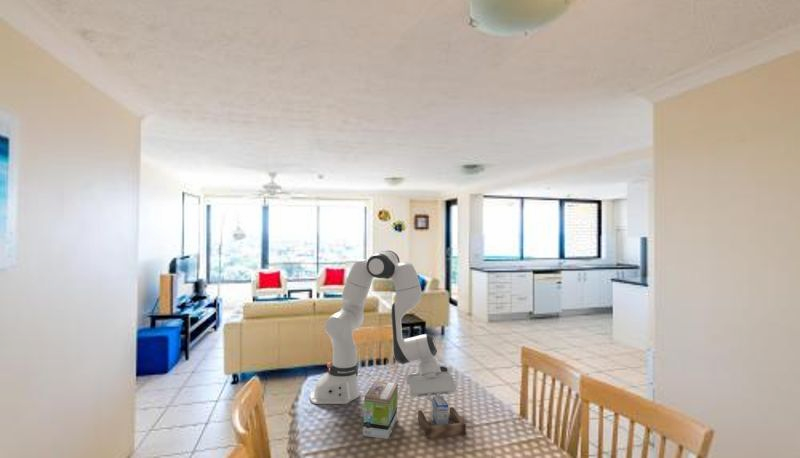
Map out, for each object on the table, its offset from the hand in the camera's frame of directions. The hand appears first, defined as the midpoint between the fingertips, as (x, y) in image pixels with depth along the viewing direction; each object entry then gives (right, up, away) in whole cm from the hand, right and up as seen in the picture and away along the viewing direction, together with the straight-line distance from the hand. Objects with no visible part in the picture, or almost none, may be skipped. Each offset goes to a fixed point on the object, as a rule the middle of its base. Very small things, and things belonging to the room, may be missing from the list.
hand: (435, 405), depth 150 cm
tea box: (-22, -4, -9) cm, 24 cm away
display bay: (+1, -4, -7) cm, 8 cm away
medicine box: (+1, -5, -4) cm, 7 cm away
